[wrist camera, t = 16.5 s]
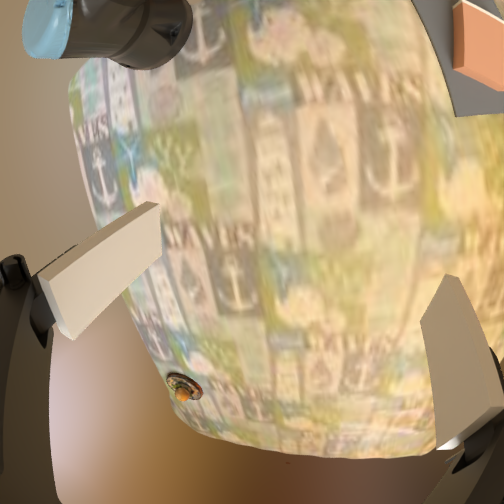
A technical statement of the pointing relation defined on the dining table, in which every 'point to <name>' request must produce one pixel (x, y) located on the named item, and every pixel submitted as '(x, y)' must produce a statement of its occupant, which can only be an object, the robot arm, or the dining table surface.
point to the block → (478, 44)
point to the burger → (184, 387)
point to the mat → (442, 38)
